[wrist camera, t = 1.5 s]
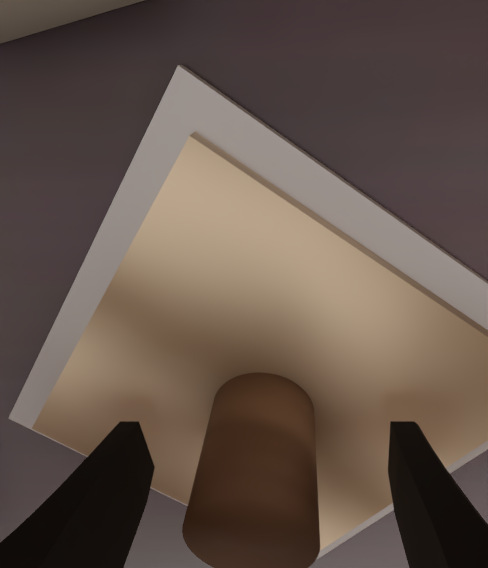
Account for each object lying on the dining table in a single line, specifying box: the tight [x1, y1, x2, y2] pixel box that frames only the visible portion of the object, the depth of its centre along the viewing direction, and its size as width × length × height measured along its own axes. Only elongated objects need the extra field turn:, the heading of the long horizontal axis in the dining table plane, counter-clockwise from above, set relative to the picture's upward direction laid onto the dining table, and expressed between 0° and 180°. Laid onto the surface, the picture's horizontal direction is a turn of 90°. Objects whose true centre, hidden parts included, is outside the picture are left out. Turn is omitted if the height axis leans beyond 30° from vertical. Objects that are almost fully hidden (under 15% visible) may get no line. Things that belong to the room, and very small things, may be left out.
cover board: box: [32, 132, 488, 568], centre depth 11 cm, size 12×12×5 cm
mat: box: [9, 65, 488, 560], centre depth 14 cm, size 14×14×1 cm
